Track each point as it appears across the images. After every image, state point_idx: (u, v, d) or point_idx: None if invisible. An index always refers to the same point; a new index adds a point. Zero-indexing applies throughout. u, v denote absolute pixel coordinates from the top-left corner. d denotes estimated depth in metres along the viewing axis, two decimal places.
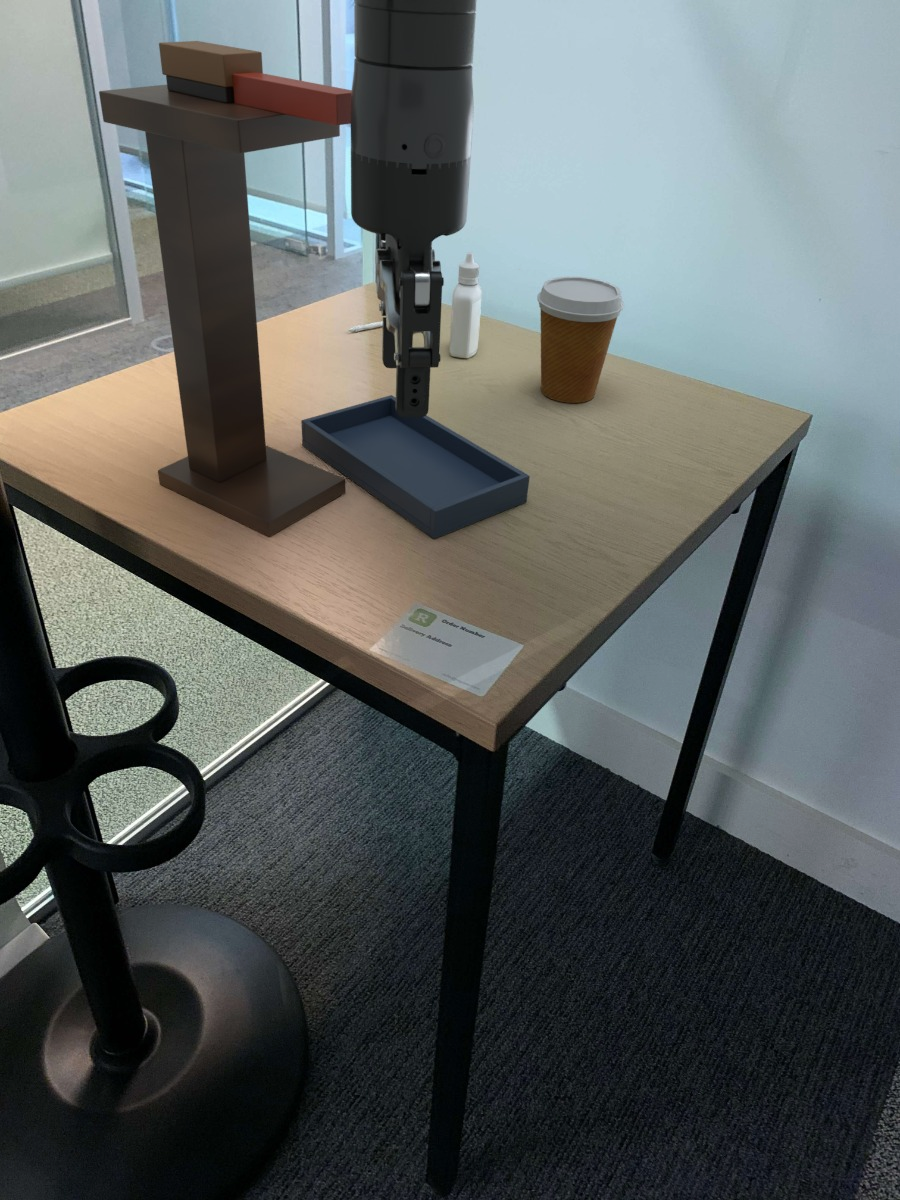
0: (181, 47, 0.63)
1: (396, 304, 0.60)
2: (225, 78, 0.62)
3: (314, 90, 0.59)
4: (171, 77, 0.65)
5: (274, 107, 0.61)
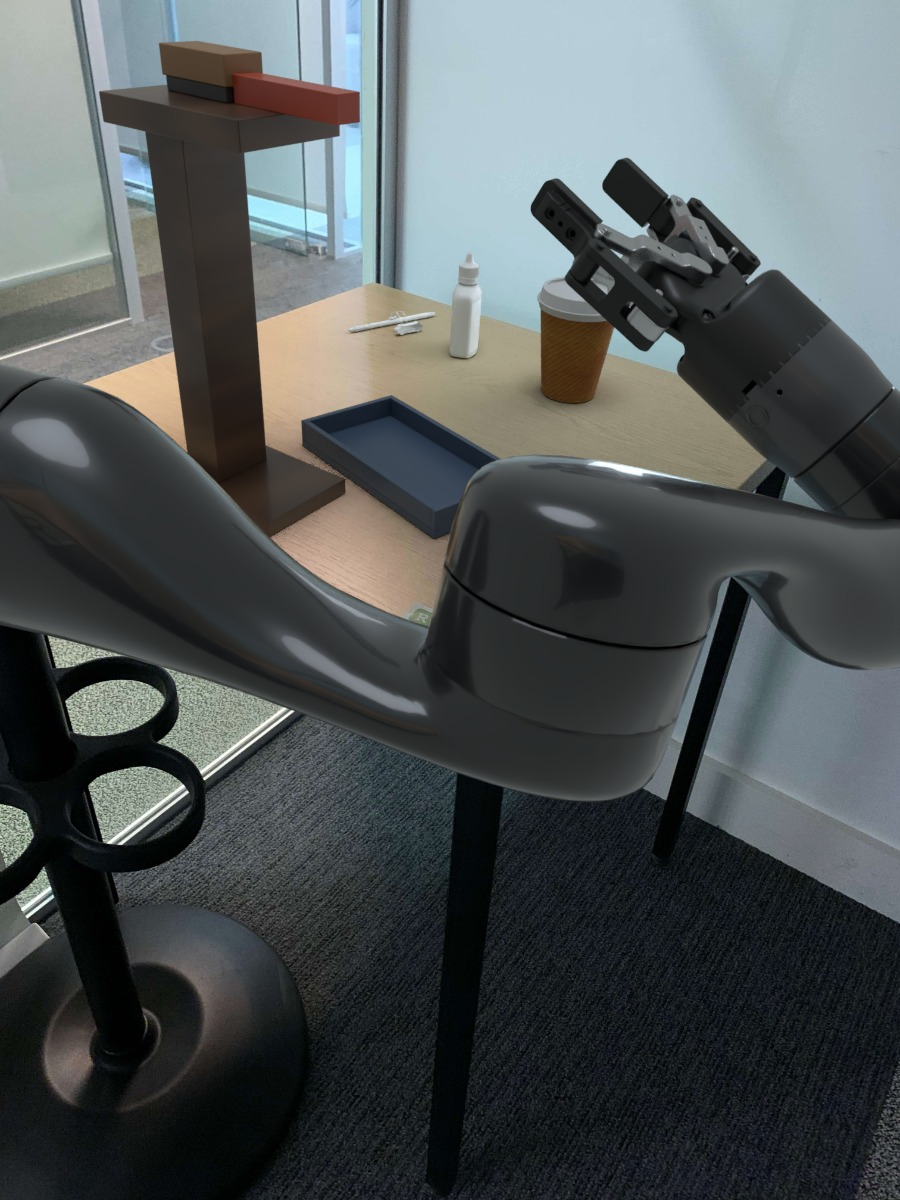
0: (181, 47, 0.63)
1: None
2: (225, 78, 0.62)
3: (314, 90, 0.59)
4: (171, 77, 0.65)
5: (274, 107, 0.61)
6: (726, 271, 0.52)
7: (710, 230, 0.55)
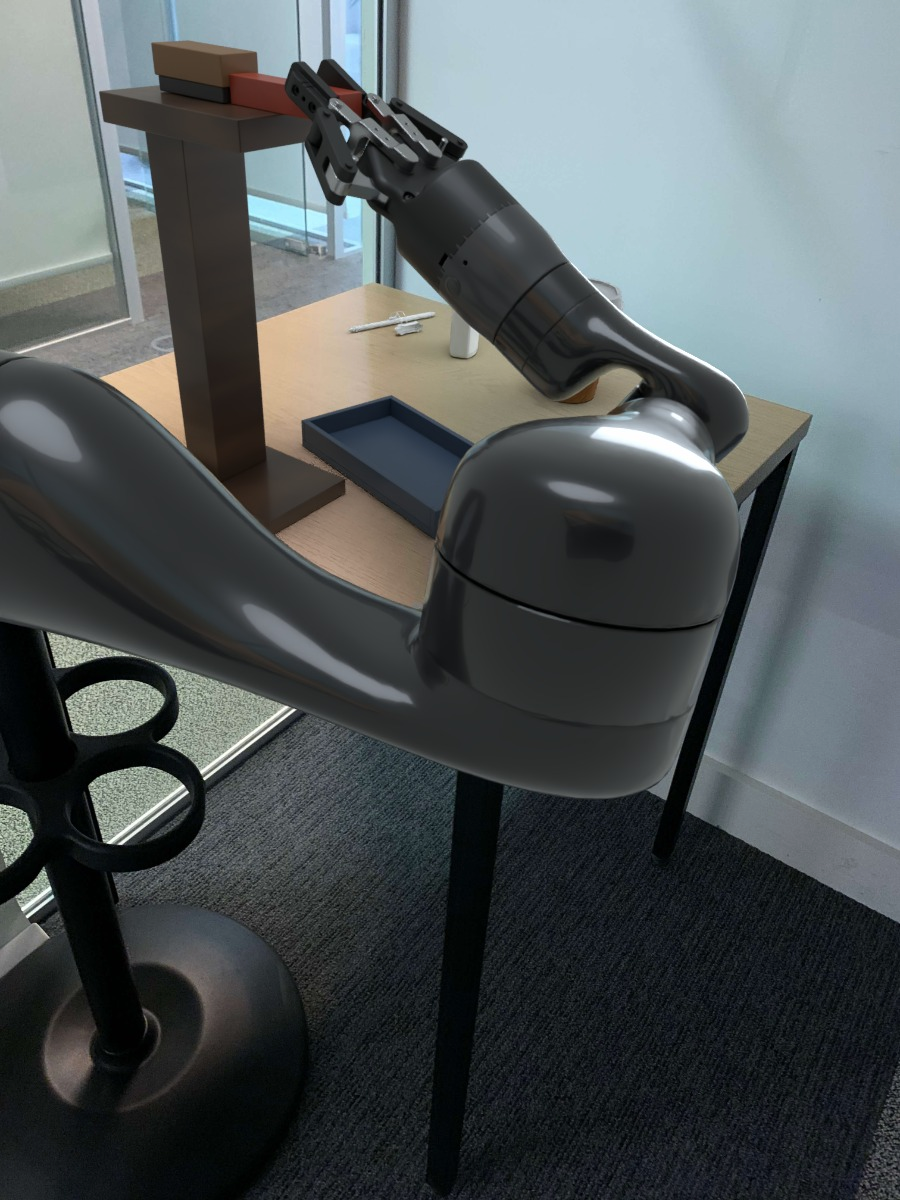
0: (175, 47, 0.63)
1: (372, 149, 0.57)
2: (222, 78, 0.62)
3: None
4: (164, 77, 0.65)
5: (273, 107, 0.61)
6: (445, 165, 0.60)
7: (418, 126, 0.61)
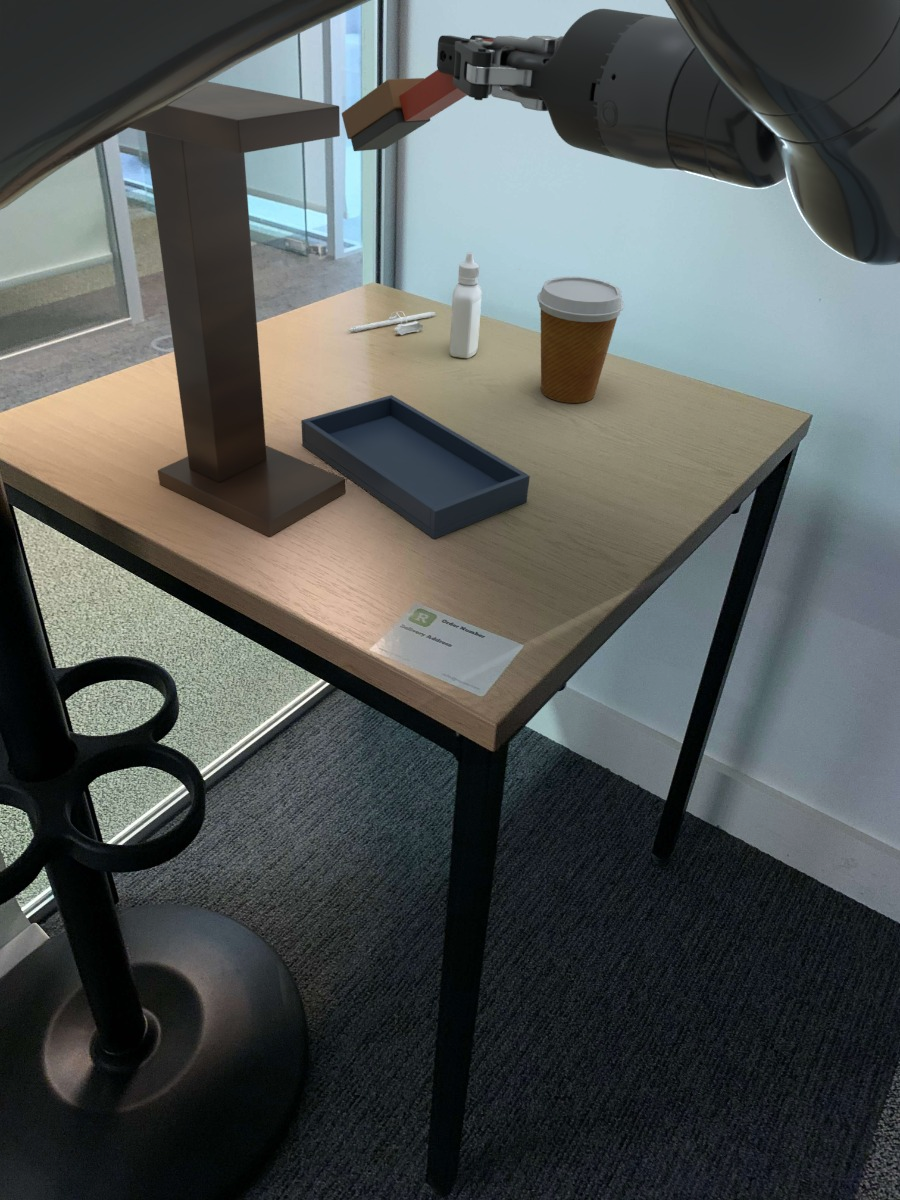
0: None
1: (512, 52, 0.57)
2: (392, 100, 0.68)
3: None
4: (354, 136, 0.73)
5: (435, 97, 0.65)
6: None
7: None
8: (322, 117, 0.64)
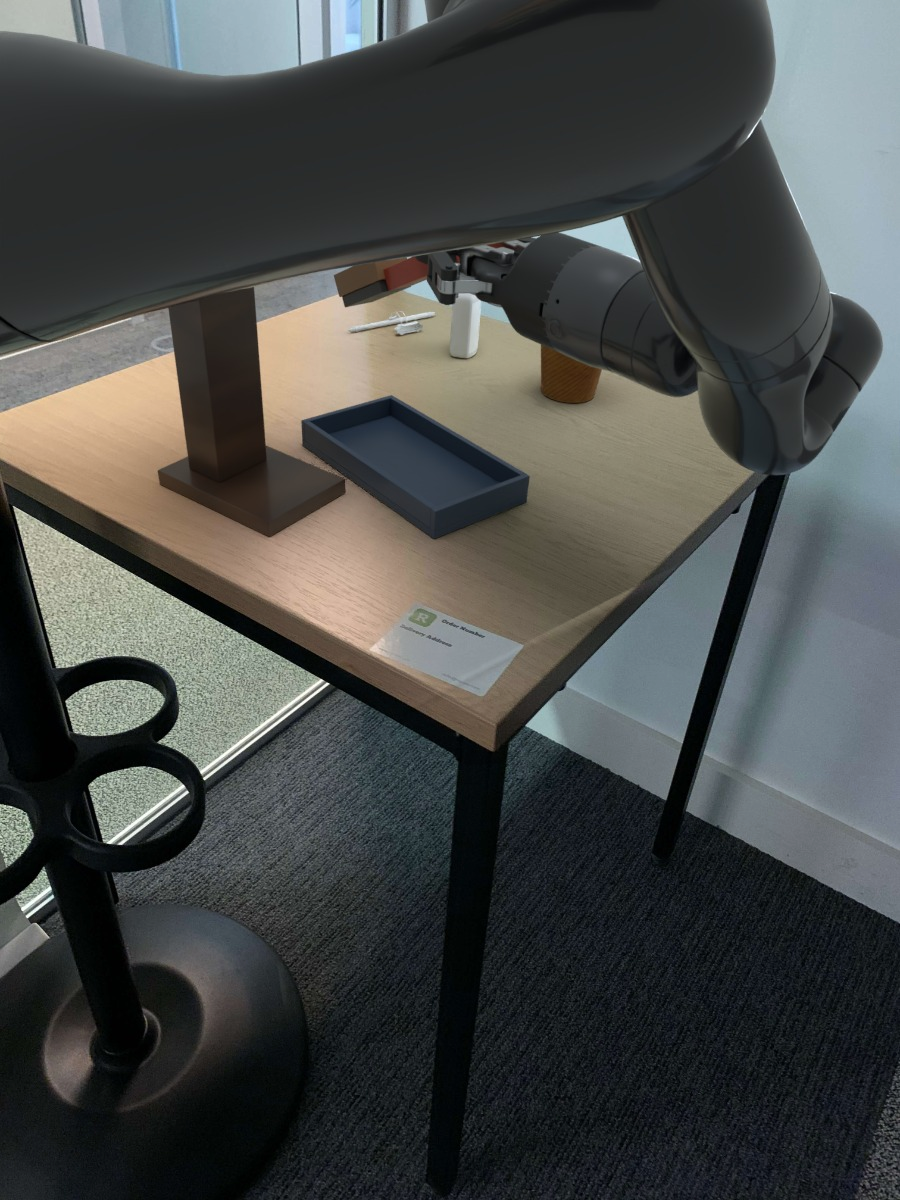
0: (347, 269, 0.81)
1: (476, 259, 0.66)
2: (377, 273, 0.77)
3: None
4: (345, 295, 0.82)
5: (414, 276, 0.75)
6: None
7: None
8: None
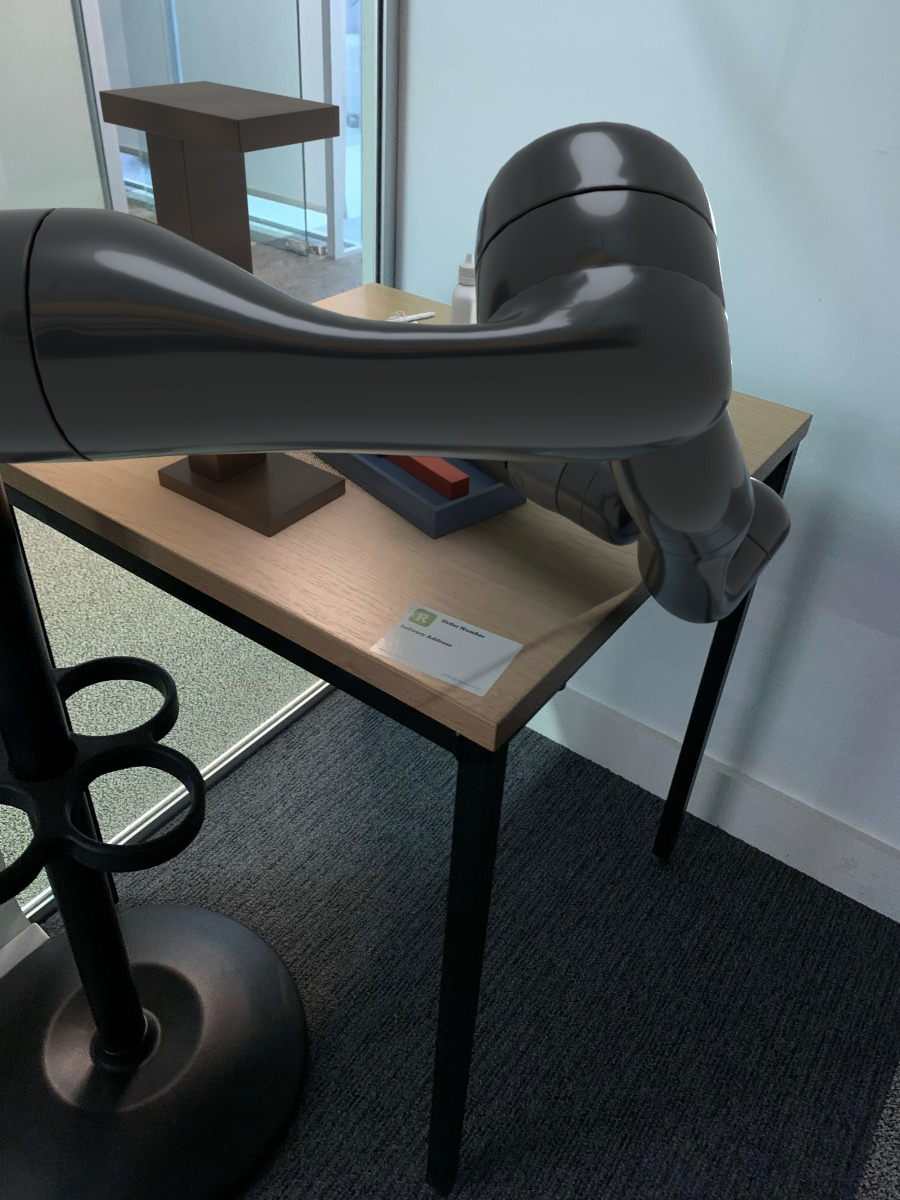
0: None
1: None
2: None
3: (437, 474, 0.83)
4: None
5: (411, 471, 0.86)
6: None
7: None
8: (322, 117, 0.64)
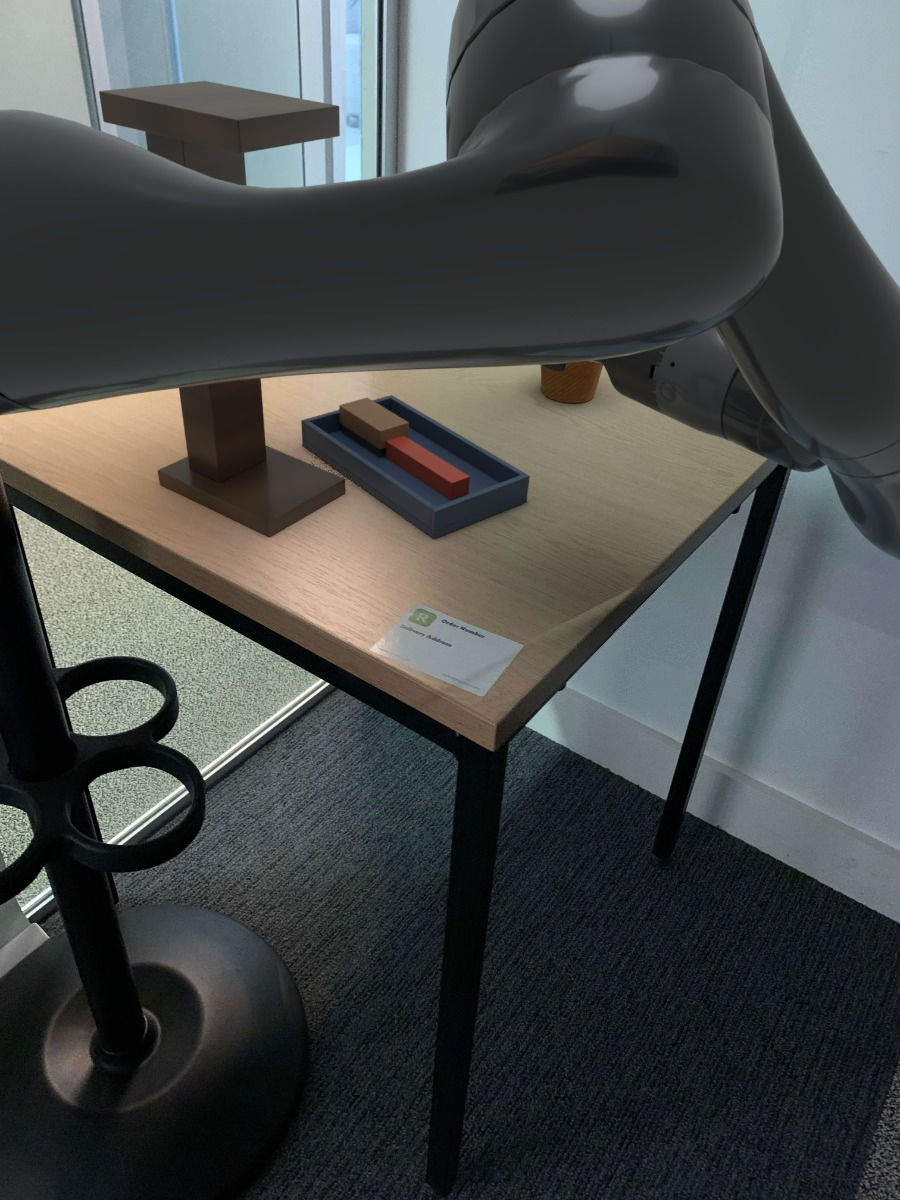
0: (353, 414, 0.89)
1: None
2: (380, 444, 0.87)
3: (437, 474, 0.83)
4: (345, 427, 0.91)
5: (411, 471, 0.86)
6: None
7: None
8: (322, 117, 0.64)
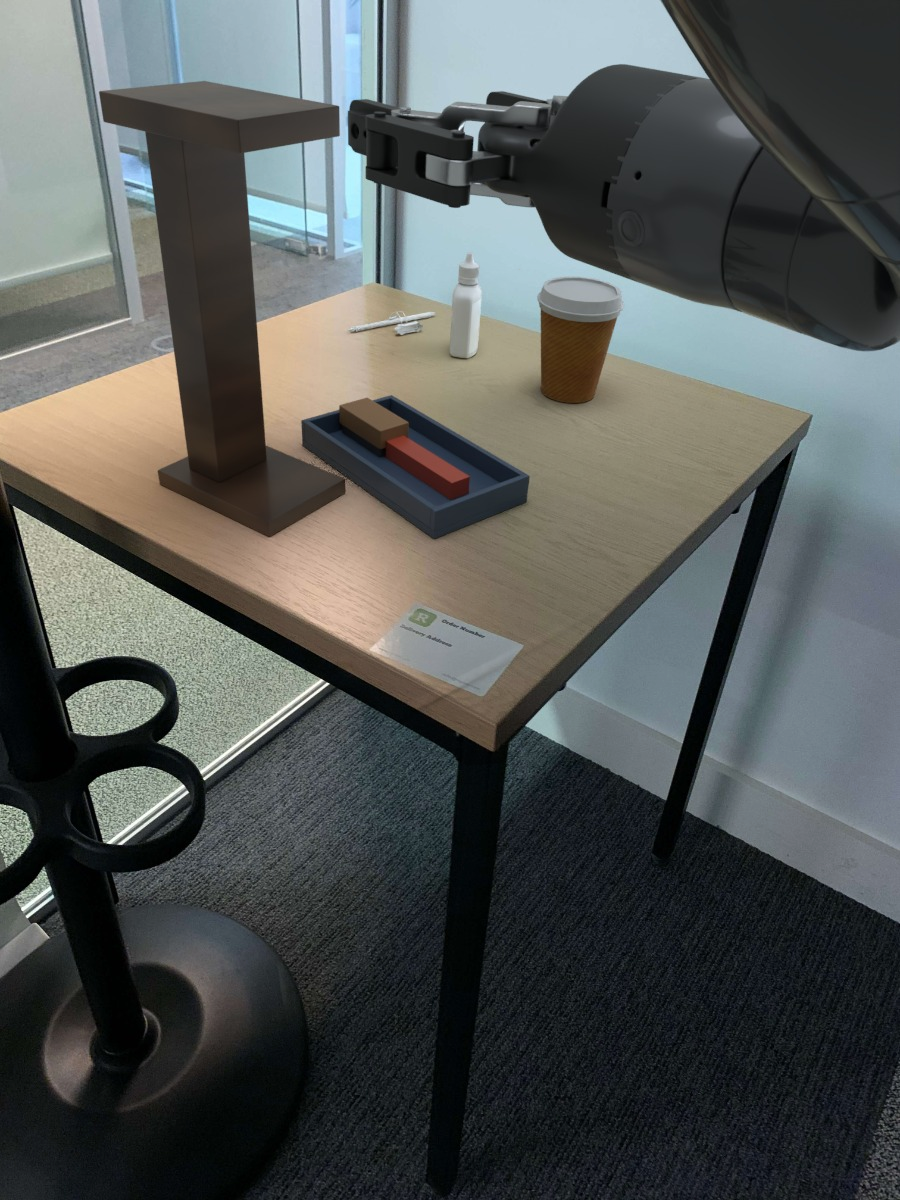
0: (353, 414, 0.89)
1: (486, 124, 0.39)
2: (380, 444, 0.87)
3: (437, 474, 0.83)
4: (345, 427, 0.91)
5: (411, 471, 0.86)
6: None
7: None
8: (322, 117, 0.64)
